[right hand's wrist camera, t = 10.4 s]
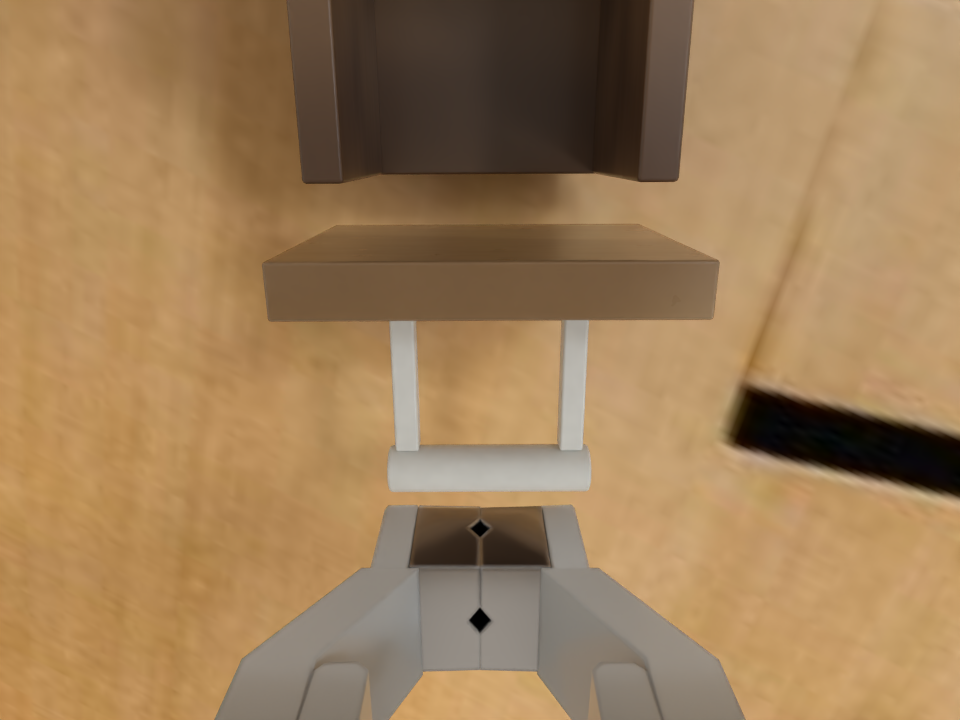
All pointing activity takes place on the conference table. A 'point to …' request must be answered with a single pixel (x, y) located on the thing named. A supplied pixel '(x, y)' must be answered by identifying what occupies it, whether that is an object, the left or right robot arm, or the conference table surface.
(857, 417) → the conference table surface
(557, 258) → the drawer
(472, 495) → the conference table surface
